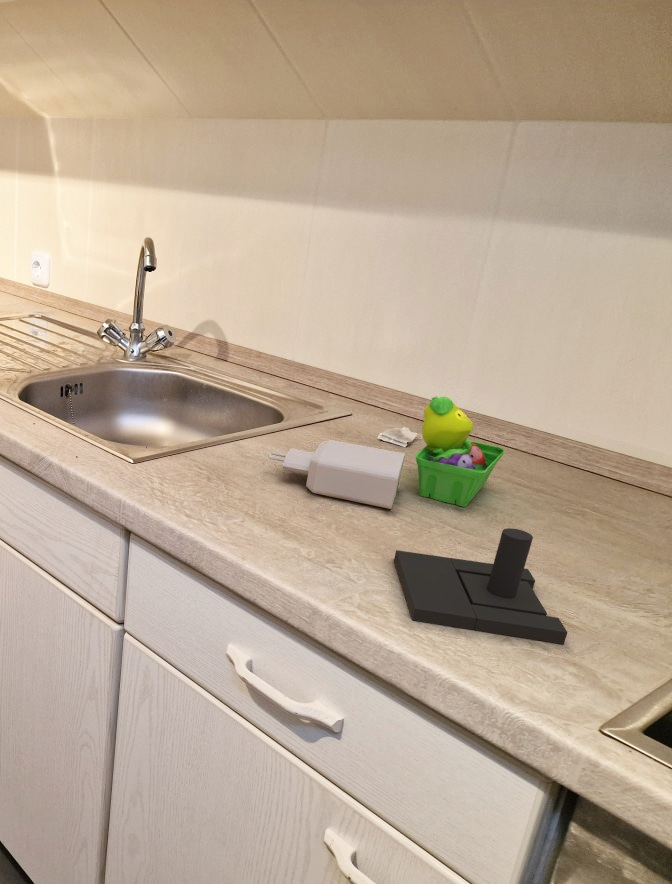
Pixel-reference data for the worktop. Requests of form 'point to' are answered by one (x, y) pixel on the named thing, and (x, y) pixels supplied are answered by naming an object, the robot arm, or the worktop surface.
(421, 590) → the black flat u-shaped plate
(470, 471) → the fruit basket
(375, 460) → the charger
